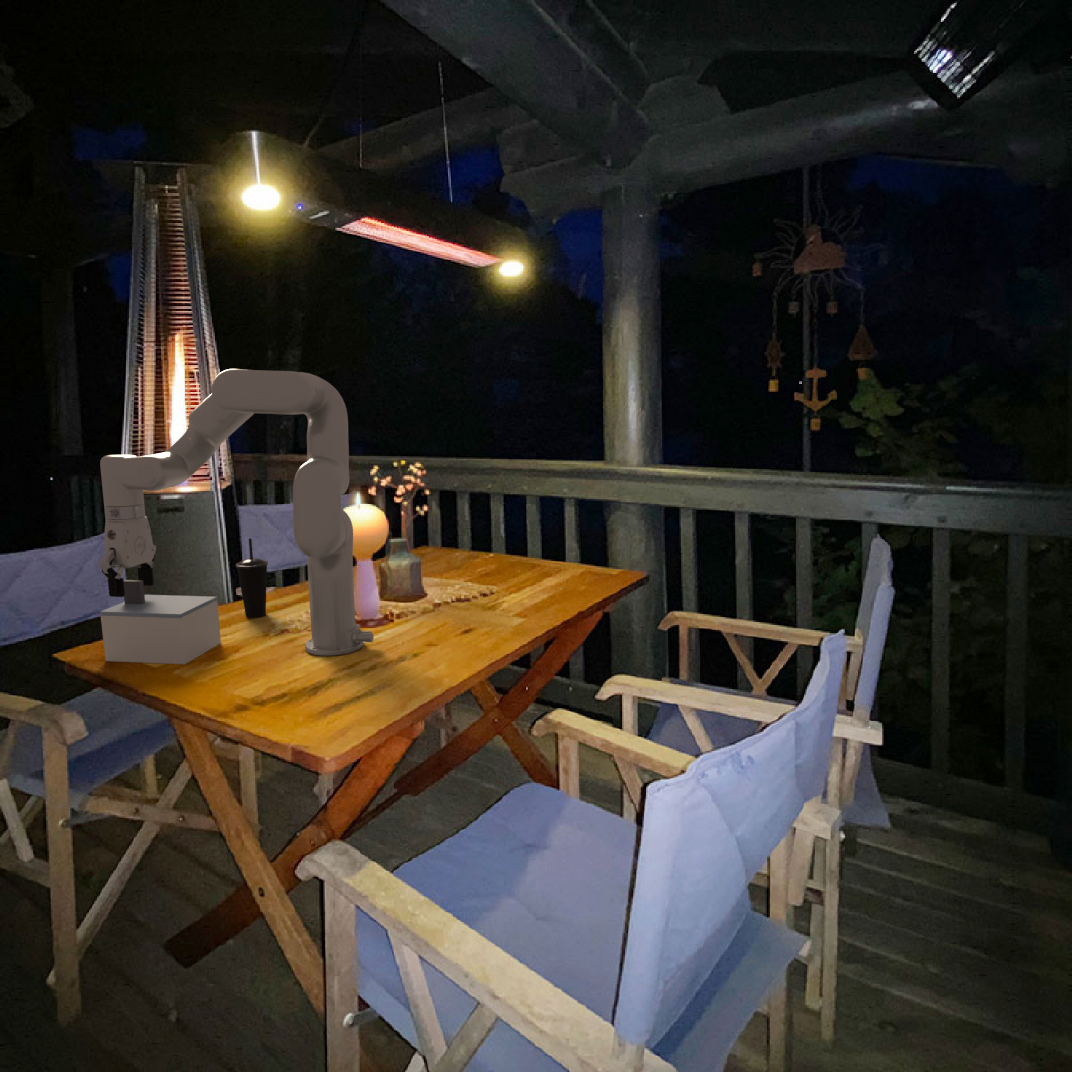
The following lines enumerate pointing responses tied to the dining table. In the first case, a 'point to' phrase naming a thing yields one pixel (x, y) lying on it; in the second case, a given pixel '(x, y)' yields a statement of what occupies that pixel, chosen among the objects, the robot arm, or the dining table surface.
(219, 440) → the robot arm
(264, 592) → the drinking cup
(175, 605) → the lid flap
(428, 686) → the dining table surface
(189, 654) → the carton
